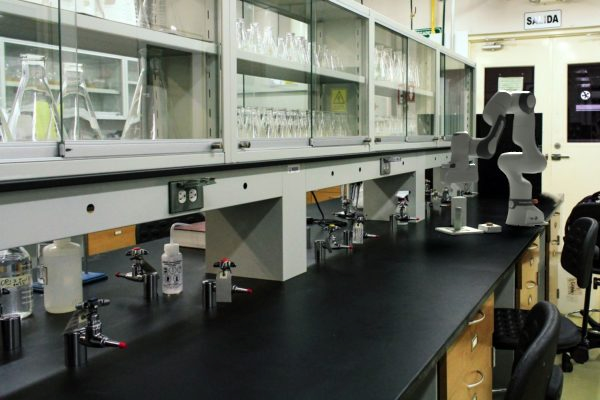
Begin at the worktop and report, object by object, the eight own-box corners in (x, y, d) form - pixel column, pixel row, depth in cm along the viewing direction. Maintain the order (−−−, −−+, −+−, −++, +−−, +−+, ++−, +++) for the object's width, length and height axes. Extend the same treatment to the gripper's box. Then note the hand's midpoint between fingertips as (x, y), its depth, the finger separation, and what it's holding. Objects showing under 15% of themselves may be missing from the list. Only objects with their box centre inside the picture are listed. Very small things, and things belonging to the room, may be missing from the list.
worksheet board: (465, 228, 321) (466, 226, 321) (483, 233, 306) (484, 230, 306) (435, 229, 316) (435, 227, 316) (452, 234, 301) (452, 232, 301)
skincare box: (466, 227, 326) (467, 197, 324) (453, 226, 326) (454, 197, 324) (462, 224, 334) (463, 196, 333) (450, 224, 334) (451, 196, 333)
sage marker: (458, 228, 313) (459, 207, 312) (462, 229, 310) (463, 207, 308) (453, 229, 312) (453, 207, 311) (456, 229, 309) (457, 208, 307)
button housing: (491, 229, 317) (491, 223, 316) (501, 232, 309) (501, 226, 309) (478, 230, 314) (478, 224, 314) (487, 232, 307) (487, 226, 306)
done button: (490, 227, 314) (490, 222, 313) (494, 228, 311) (494, 223, 310) (485, 228, 313) (485, 223, 312) (488, 228, 310) (489, 224, 309)
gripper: (474, 163, 313) (473, 190, 315) (438, 164, 307) (437, 192, 309) (481, 164, 307) (480, 191, 309) (445, 165, 301) (444, 193, 303)
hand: (458, 191), depth 309 cm, fingers open, 8 cm apart
